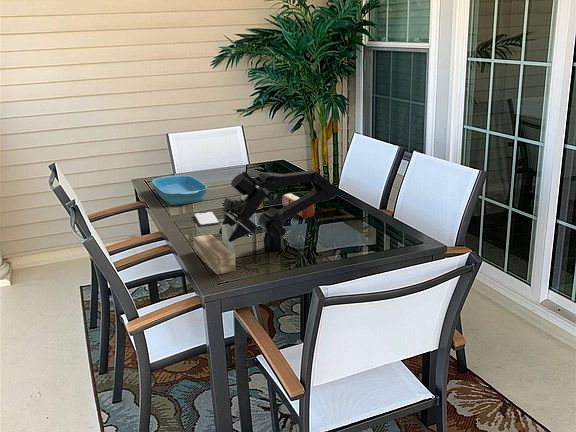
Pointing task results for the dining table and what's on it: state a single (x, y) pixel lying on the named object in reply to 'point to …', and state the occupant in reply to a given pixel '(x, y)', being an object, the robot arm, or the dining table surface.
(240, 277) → the dining table surface
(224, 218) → the robot arm
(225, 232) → the sage green flanged block
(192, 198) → the casserole dish
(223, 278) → the dining table surface
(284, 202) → the snack package
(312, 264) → the dining table surface
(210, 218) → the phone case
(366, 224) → the dining table surface
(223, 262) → the beige u-shaped channel
